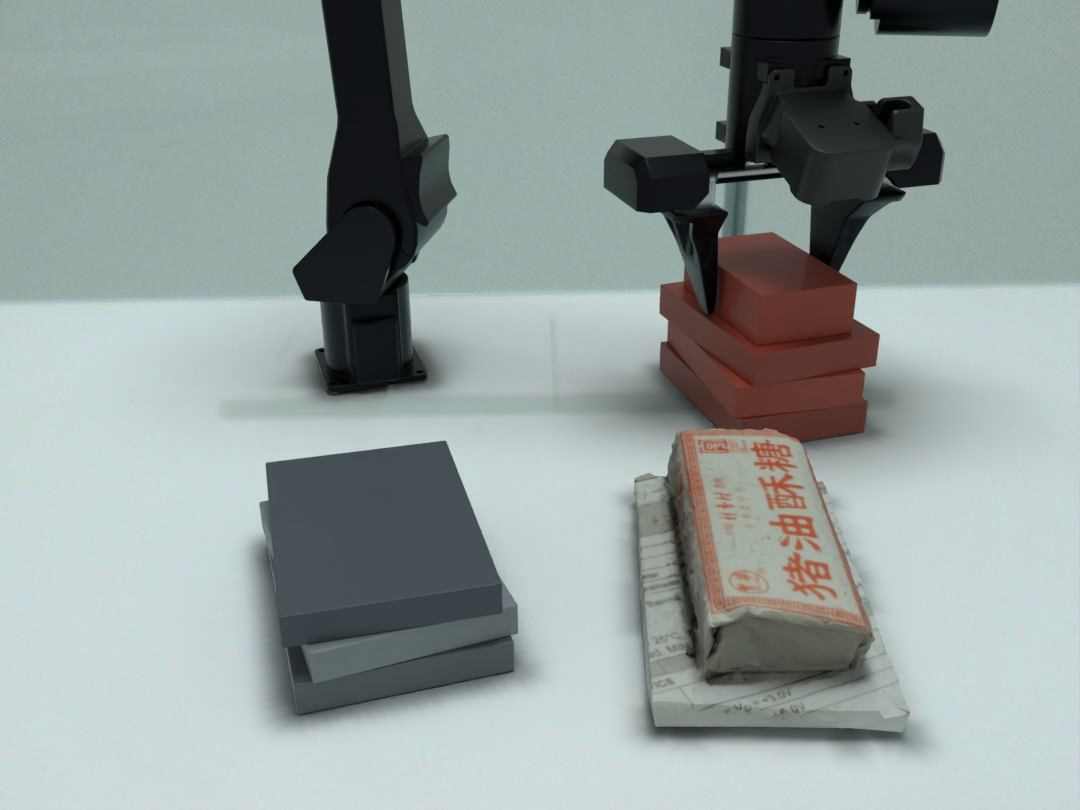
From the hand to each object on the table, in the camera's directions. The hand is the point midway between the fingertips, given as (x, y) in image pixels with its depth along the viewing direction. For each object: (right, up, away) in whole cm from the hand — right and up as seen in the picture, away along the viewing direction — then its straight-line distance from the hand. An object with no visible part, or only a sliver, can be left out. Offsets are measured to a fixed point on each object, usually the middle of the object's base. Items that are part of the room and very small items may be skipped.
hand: (763, 305), depth 69 cm
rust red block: (0, 0, 0) cm, 0 cm away
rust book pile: (0, -6, +3) cm, 6 cm away
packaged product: (-4, -15, -16) cm, 22 cm away
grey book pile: (-21, -15, -16) cm, 30 cm away
